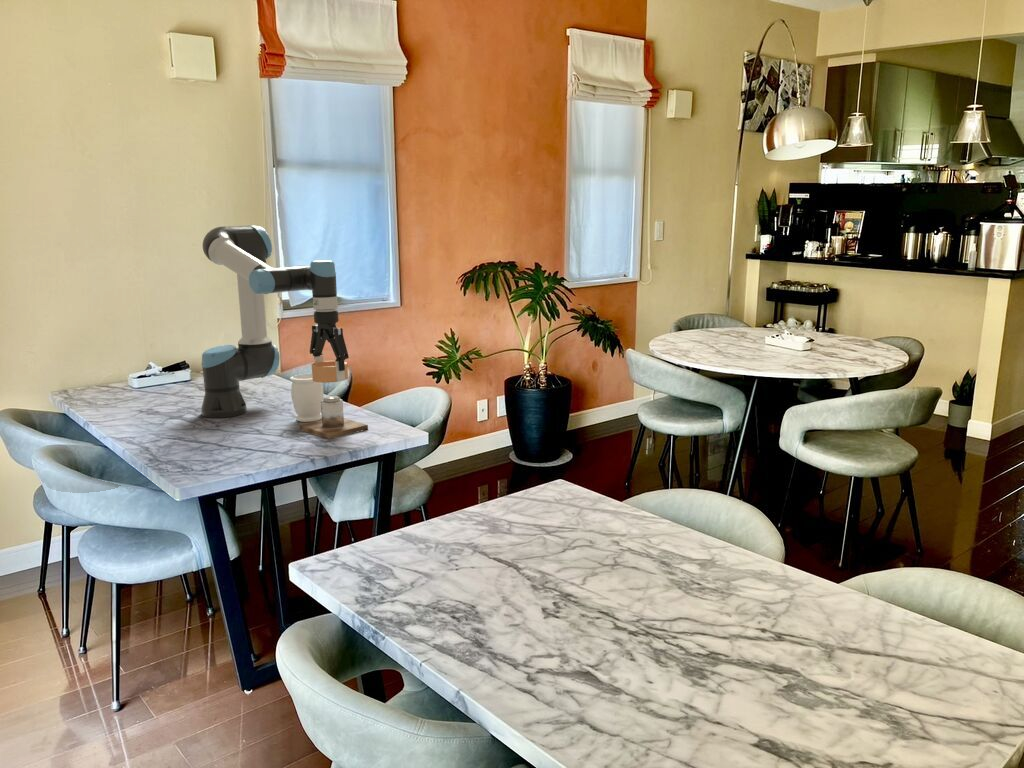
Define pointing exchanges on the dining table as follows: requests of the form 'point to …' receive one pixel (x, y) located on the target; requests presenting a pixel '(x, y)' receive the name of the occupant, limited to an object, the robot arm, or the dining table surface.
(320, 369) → the ring
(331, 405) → the frosted glass cylinder
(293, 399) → the jar
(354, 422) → the wooden board
